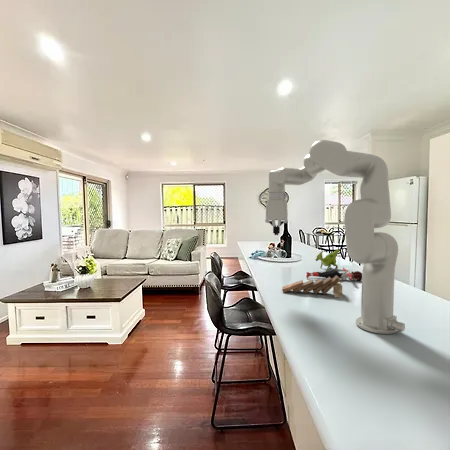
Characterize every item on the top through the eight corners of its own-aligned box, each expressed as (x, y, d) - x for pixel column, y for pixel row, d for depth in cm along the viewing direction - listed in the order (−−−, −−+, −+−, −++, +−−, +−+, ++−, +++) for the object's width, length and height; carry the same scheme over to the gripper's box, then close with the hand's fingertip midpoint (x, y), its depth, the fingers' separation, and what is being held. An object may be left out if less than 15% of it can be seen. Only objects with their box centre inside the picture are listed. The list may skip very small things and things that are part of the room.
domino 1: (283, 289, 143) (303, 283, 140) (283, 292, 138) (303, 285, 136) (282, 286, 143) (302, 279, 140) (282, 289, 138) (302, 282, 136)
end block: (339, 292, 138) (339, 281, 138) (342, 297, 130) (342, 286, 130) (333, 292, 139) (333, 281, 139) (335, 296, 131) (335, 285, 131)
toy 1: (318, 275, 195) (310, 256, 192) (339, 257, 203) (331, 239, 199) (327, 277, 188) (319, 258, 184) (349, 259, 195) (341, 240, 191)
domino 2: (294, 290, 142) (313, 282, 139) (294, 293, 137) (314, 284, 134) (292, 287, 142) (312, 279, 139) (292, 290, 137) (312, 281, 135)
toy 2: (307, 284, 154) (369, 287, 147) (307, 274, 153) (369, 276, 147) (305, 273, 181) (357, 275, 174) (305, 264, 180) (357, 266, 174)
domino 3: (304, 291, 141) (323, 281, 138) (305, 293, 136) (324, 283, 133) (302, 288, 141) (321, 278, 138) (303, 291, 136) (322, 280, 134)
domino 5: (323, 291, 138) (338, 277, 136) (324, 294, 134) (340, 279, 132) (320, 289, 139) (336, 274, 137) (321, 292, 134) (337, 277, 132)
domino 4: (314, 291, 139) (331, 279, 137) (315, 294, 135) (333, 281, 132) (312, 289, 140) (329, 276, 137) (313, 291, 135) (330, 278, 133)
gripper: (292, 196, 141) (292, 234, 142) (261, 197, 144) (261, 234, 145) (292, 196, 134) (292, 236, 135) (260, 196, 137) (259, 235, 138)
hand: (276, 234), depth 140 cm, fingers closed
